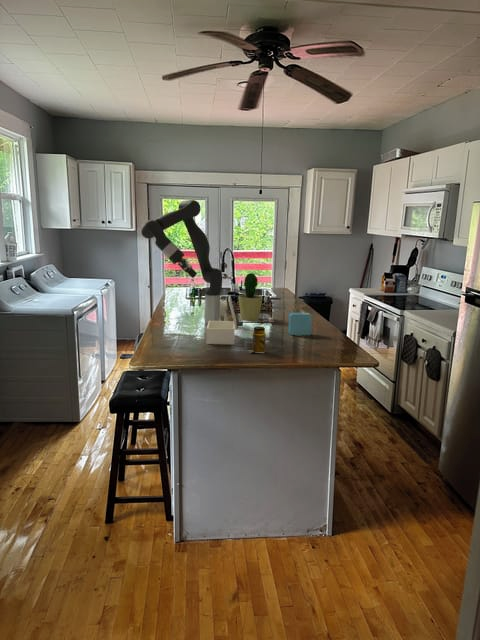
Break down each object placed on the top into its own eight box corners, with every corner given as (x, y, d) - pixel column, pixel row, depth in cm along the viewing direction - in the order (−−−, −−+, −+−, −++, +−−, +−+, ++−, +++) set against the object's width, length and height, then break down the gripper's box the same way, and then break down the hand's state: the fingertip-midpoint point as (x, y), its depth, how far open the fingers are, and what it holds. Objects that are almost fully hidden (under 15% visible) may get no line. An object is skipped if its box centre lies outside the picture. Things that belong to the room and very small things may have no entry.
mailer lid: (228, 301, 221) (229, 300, 221) (228, 295, 239) (230, 295, 239) (235, 328, 224) (236, 328, 224) (235, 320, 242) (236, 320, 242)
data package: (309, 333, 252) (310, 312, 249) (311, 335, 247) (312, 314, 245) (288, 333, 251) (289, 312, 248) (289, 335, 246) (290, 314, 244)
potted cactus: (249, 322, 276) (250, 274, 269) (233, 318, 287) (233, 271, 280) (267, 319, 286) (268, 272, 279) (250, 315, 297) (251, 270, 290)
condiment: (267, 353, 212) (268, 329, 209) (250, 354, 210) (250, 329, 207) (263, 349, 219) (264, 325, 216) (246, 350, 217) (246, 326, 214)
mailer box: (206, 343, 226) (206, 328, 224) (208, 335, 243) (208, 320, 242) (234, 344, 226) (234, 329, 224) (234, 335, 244) (234, 321, 242)
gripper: (176, 248, 223) (199, 272, 225) (180, 247, 237) (201, 269, 239) (165, 259, 224) (188, 282, 226) (170, 257, 238) (191, 279, 240)
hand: (195, 276), depth 233 cm, fingers open, 8 cm apart
